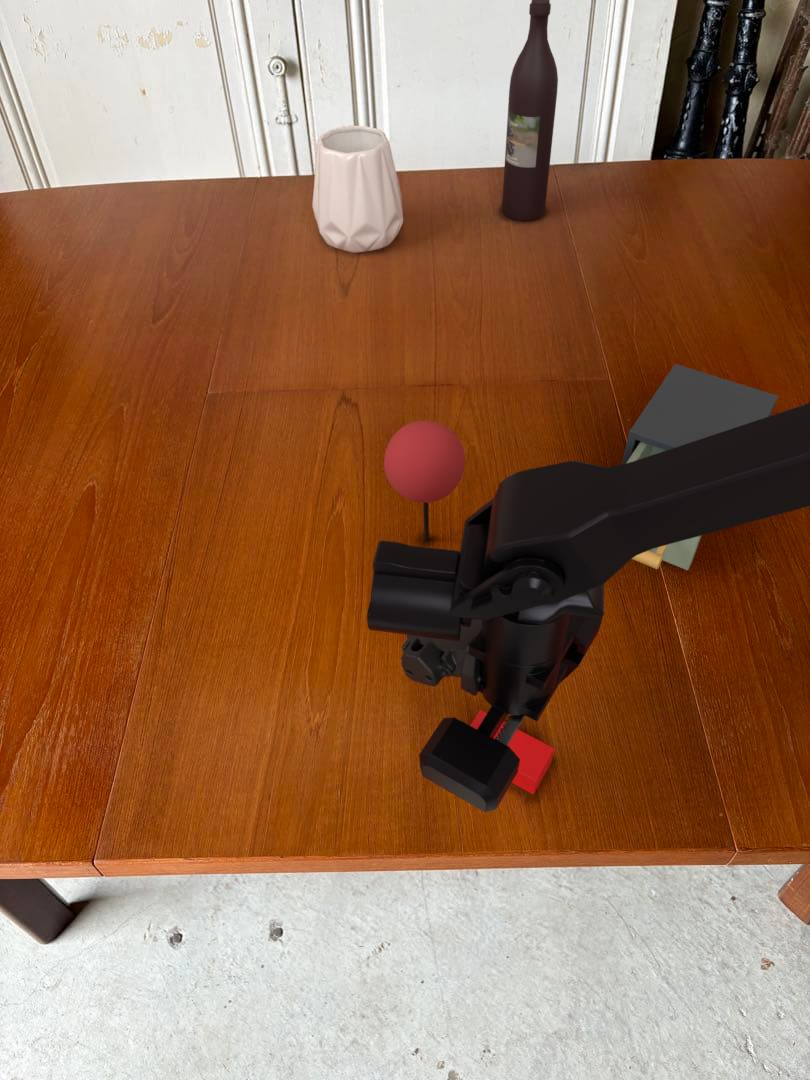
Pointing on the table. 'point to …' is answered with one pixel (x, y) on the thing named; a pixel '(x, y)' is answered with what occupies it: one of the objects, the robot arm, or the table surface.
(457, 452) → the lollipop
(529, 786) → the red rectangular block
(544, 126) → the wine bottle
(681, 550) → the drawer
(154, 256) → the table surface
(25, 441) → the table surface
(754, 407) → the cabinet
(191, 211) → the table surface
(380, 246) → the vase
